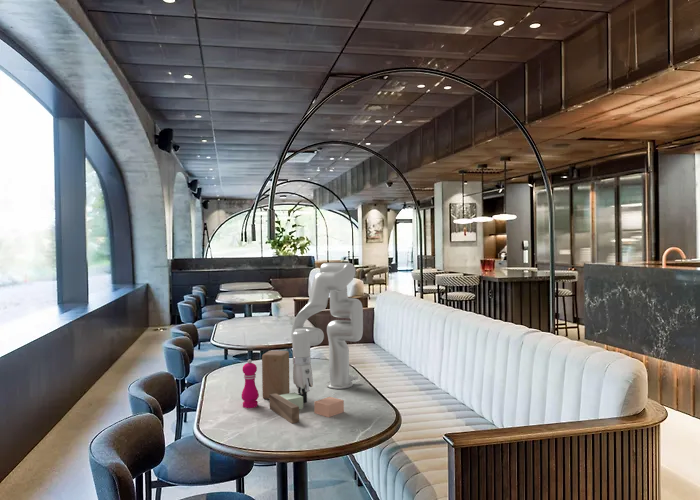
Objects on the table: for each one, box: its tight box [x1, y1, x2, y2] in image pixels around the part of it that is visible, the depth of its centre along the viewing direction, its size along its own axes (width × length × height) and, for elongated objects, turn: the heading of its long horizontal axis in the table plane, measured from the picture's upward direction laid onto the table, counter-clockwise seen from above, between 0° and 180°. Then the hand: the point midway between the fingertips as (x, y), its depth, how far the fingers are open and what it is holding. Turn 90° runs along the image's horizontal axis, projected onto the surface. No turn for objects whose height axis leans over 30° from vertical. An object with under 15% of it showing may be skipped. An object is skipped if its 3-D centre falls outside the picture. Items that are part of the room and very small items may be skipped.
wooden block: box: [261, 350, 291, 400], centre depth 246 cm, size 10×10×20 cm
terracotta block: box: [313, 396, 345, 418], centre depth 222 cm, size 9×8×5 cm
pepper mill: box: [241, 358, 260, 409], centre depth 232 cm, size 7×7×20 cm
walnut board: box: [269, 393, 300, 424], centre depth 219 cm, size 3×22×6 cm, turn 31°
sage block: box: [280, 391, 304, 410], centre depth 229 cm, size 9×8×5 cm
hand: (302, 402), depth 232 cm, fingers closed
